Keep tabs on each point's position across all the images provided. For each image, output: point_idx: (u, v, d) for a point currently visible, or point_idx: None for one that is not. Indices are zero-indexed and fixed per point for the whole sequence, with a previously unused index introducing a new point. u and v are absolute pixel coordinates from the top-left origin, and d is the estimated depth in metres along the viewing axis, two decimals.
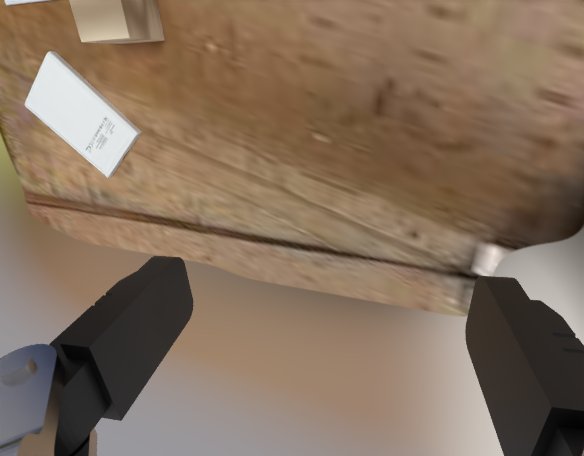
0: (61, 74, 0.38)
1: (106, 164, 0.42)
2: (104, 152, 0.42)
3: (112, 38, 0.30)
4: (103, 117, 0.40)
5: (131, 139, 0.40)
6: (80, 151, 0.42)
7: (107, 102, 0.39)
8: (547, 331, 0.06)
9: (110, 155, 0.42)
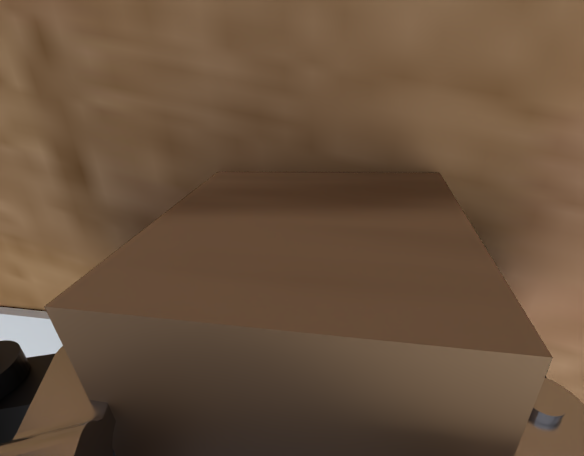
0: None
1: None
2: None
3: None
4: None
5: None
6: None
7: None
8: None
9: None
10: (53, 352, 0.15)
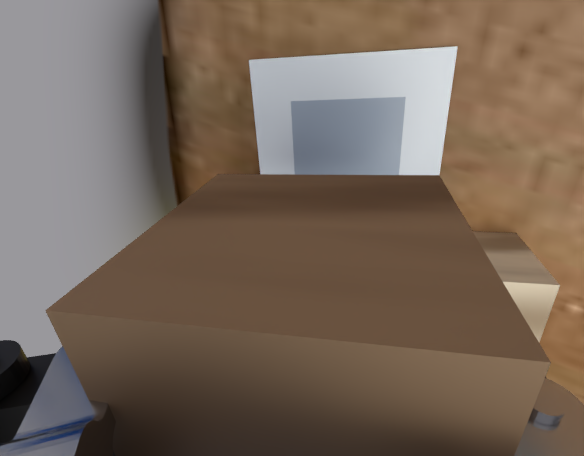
0: None
1: None
2: None
3: None
4: None
5: None
6: None
7: None
8: None
9: None
10: (317, 90, 0.21)
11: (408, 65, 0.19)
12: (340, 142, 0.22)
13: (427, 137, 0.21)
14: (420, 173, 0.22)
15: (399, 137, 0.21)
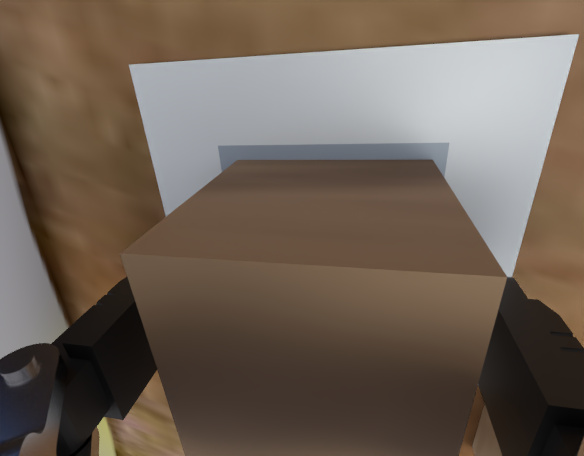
0: None
1: None
2: None
3: None
4: None
5: None
6: None
7: None
8: (544, 330, 0.06)
9: None
10: (268, 126, 0.10)
11: (458, 76, 0.09)
12: None
13: (490, 221, 0.10)
14: None
15: None
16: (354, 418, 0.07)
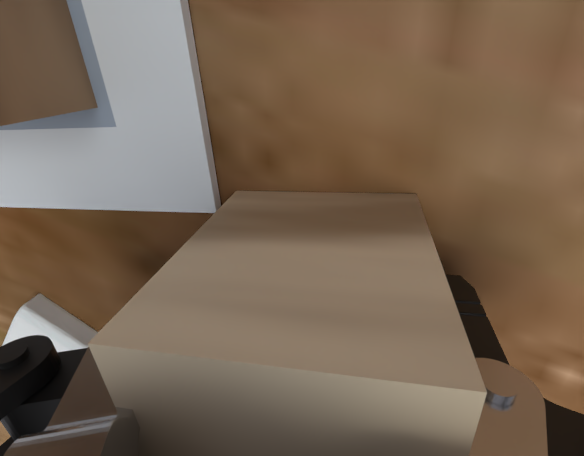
0: None
1: None
2: None
3: None
4: None
5: None
6: None
7: None
8: None
9: None
10: None
11: None
12: None
13: None
14: (138, 25, 0.08)
15: None
16: None
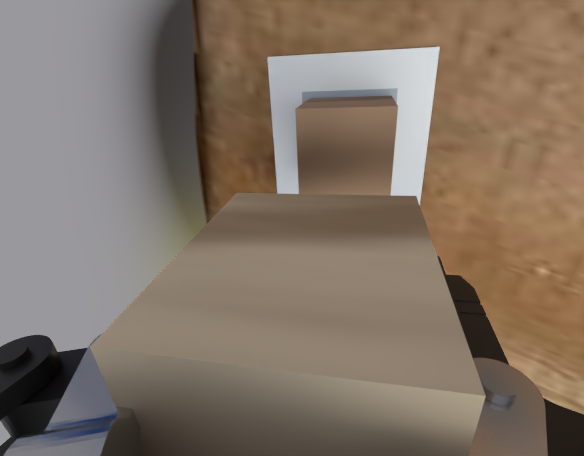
0: None
1: None
2: None
3: None
4: None
5: None
6: None
7: None
8: (451, 297, 0.07)
9: None
10: (324, 82, 0.25)
11: (399, 61, 0.24)
12: None
13: (416, 122, 0.25)
14: (410, 153, 0.26)
15: None
16: (360, 164, 0.21)
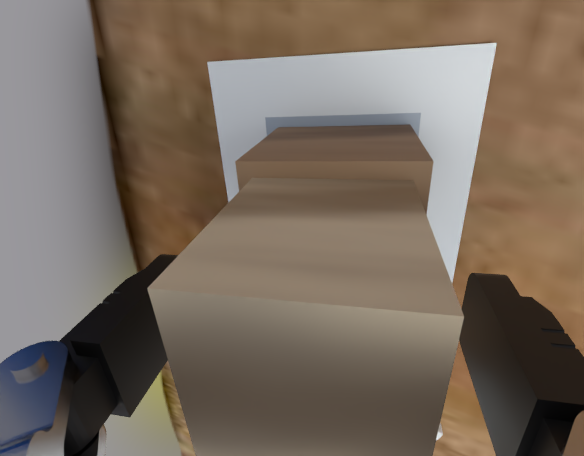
0: None
1: None
2: None
3: None
4: None
5: None
6: None
7: None
8: (536, 326, 0.06)
9: None
10: (301, 103, 0.15)
11: (425, 69, 0.14)
12: None
13: (449, 167, 0.15)
14: (439, 213, 0.16)
15: None
16: None
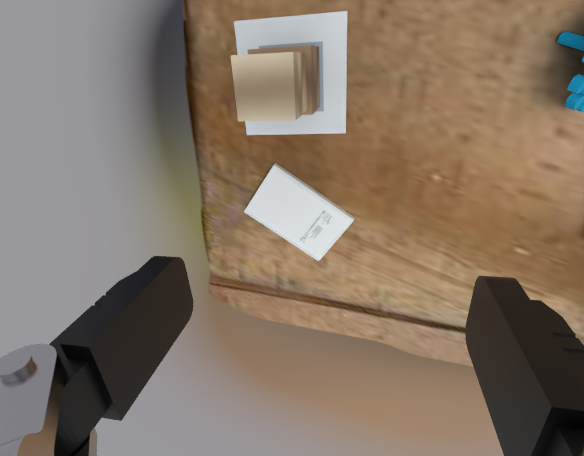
0: (284, 181, 0.43)
1: (319, 250, 0.46)
2: (318, 240, 0.46)
3: (275, 119, 0.28)
4: (321, 211, 0.44)
5: (347, 226, 0.44)
6: (294, 242, 0.46)
7: (324, 198, 0.43)
8: (547, 331, 0.06)
9: (324, 242, 0.46)
10: (273, 38, 0.36)
11: (322, 22, 0.35)
12: None
13: (337, 65, 0.36)
14: (335, 89, 0.37)
15: (321, 66, 0.37)
16: None
